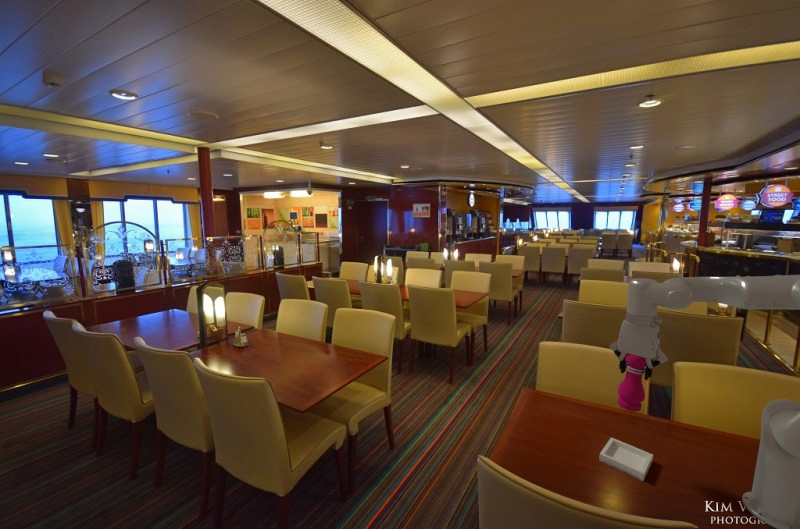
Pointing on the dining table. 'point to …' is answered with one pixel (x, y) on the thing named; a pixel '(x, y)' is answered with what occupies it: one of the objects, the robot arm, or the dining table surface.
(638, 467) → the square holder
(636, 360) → the pepper mill
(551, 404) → the dining table surface
